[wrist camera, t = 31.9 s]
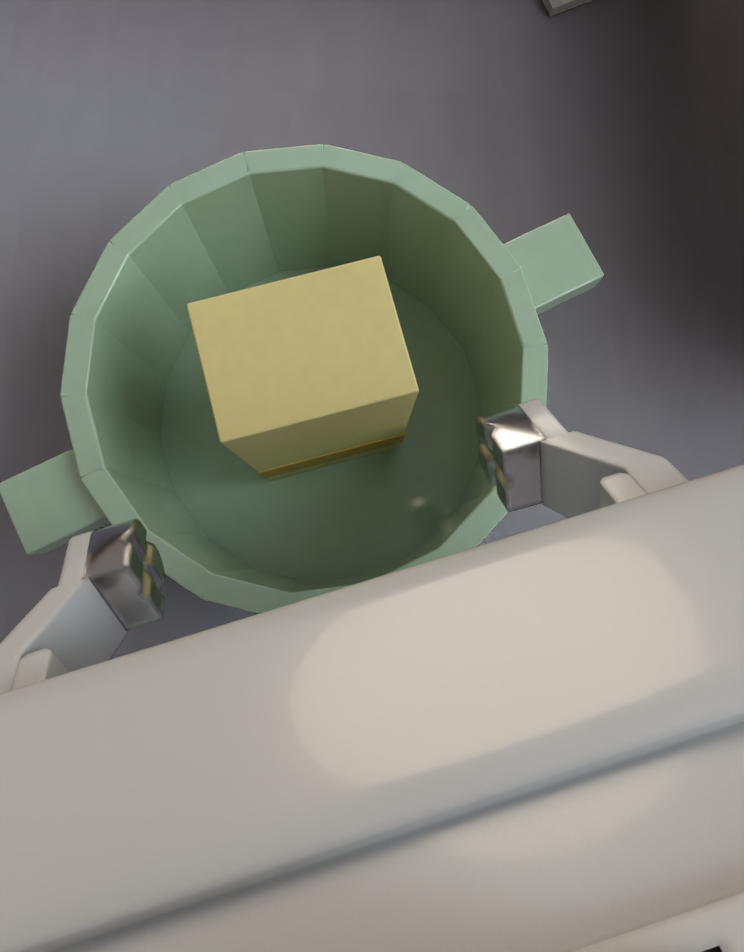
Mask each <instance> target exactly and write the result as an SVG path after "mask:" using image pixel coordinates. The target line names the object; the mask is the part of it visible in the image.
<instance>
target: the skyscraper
mask: <svg viewBox="0 0 744 952" xmlns="http://www.w3.org/2000/svg"><path fill="white" fill-rule="evenodd" d="M542 1H543V3H544V5H545V7H546V9H547V11H548V13H549V15H550V17H551V16H553V15H556V14H559V13H561V12H564V11H567V10H569V9H572V8H575V7H577V6H580V5H582V4H585V3H588V2H590V1H593V0H542Z"/></svg>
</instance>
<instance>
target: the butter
mask: <svg viewBox="0 0 744 952" xmlns="http://www.w3.org/2000/svg"><path fill="white" fill-rule="evenodd" d="M187 310H188V314H189V318H190V322H191V326H192V330H193V334H194V338H195V343H196V347H197V351H198V355H199V359H200V363H201V367H202V371H203V375H204V379H205V383H206V387H207V392H208V396H209V400H210V404H211V408H212V412H213V416H214V420H215V424H216V428H217V432H218V437H219V441H220V442H221V443H222V444H223V445H224V446H226V447H227V448H228V449H229V450H231V451H232V452H233V453H235V454H236V455H237V456H238V457H240V458H241V459H242V460H244V461H245V462H246V463H247V464H249V465H250V466H251V467H252V468H254V469H255V470H256V473H257V474H258V475H260V476H261V477H262V478H267V479H268V480H269V481H273V480H277V479H281V478H284V477H288V476H292V475H296V474H299V473H303V472H307V471H311V470H315V469H318V468H322V467H326V466H330V465H333V464H337V463H341V462H345V461H349V460H352V459H356V458H360V457H364V456H368V455H371V454H375V453H379V452H383V451H386V450H390V449H394V448H398V447H400V444H401V442H403V441H404V438H405V435H406V431H405V429H406V426H407V423H408V420H409V418H410V415H411V412H412V409H413V406H414V403H415V400H416V397H417V394H418V391H419V389H418V385H417V382H416V378H415V375H414V371H413V368H412V364H411V361H410V357H409V354H408V350H407V347H406V343H405V340H404V336H403V333H402V329H401V326H400V322H399V319H398V315H397V312H396V308H395V304H394V301H393V297H392V294H391V290H390V287H389V283H388V280H387V276H386V273H385V269H384V266H383V262H382V259H381V257H380V256H376V257H372V258H368V259H364V260H360V261H356V262H352V263H348V264H344V265H340V266H336V267H332V268H328V269H324V270H320V271H316V272H312V273H308V274H304V275H300V276H296V277H292V278H288V279H284V280H280V281H276V282H272V283H268V284H264V285H260V286H256V287H252V288H248V289H244V290H240V291H236V292H232V293H228V294H224V295H220V296H216V297H212V298H208V299H204V300H200V301H196V302H192V303H188V304H187Z"/></svg>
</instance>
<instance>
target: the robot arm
mask: <svg viewBox="0 0 744 952" xmlns="http://www.w3.org/2000/svg"><path fill="white" fill-rule="evenodd" d="M476 432H477V434H478V435H479V437H480V438H481V440H482V442H481V443H480V445H479V447H478V449H479V456H480V461H481V464H482V468H483V471H484V473H485V475H486V477H487V479H488V481H489V482H490V484H493V485H495V486H496V488H497V496H498V497H499V499H500V500H501V502H502V503H503V505H504V507H505V508H506V510H507V511H508V512H512V511H516V510H519V509H523V508H526V507H530V506H533V505H537V504H541V503H543V505H545V506H547V507H548V508H550V509H552V510H554V511H556V512H558V513H560V514H562V515H564V516H565V517H567V519H564V520H561V521H557V522H554V523H551V524H548V525H545V526H541V527H538V528H535V529H532V530H528V531H525V532H522V533H519V534H515V535H512V536H509V537H506V538H502V539H499V540H496V541H493V542H489V543H486V544H483V545H480V546H477V547H473V548H470V549H467V550H464V551H460V552H457V553H454V554H451V555H447V556H444V557H441V558H438V559H435V560H431V561H428V562H425V563H422V564H418V565H415V566H412V567H409V568H405V569H402V570H399V571H396V572H393V573H389V574H386V575H383V576H380V577H376V578H373V579H370V580H367V581H363V582H360V583H357V584H354V585H350V586H347V587H344V588H341V589H337V590H334V591H331V592H328V593H325V594H321V595H318V596H315V597H312V598H308V599H305V600H302V601H299V602H295V603H292V604H289V605H286V606H282V607H279V608H276V609H273V610H270V611H266V612H263V613H260V614H257V615H253V616H250V617H247V618H244V619H240V620H237V621H234V622H231V623H227V624H224V625H221V626H218V627H214V628H211V629H208V630H205V631H202V632H198V633H195V634H192V635H189V636H185V637H182V638H179V639H176V640H172V641H169V642H166V643H163V644H159V645H156V646H153V647H150V648H146V649H143V650H140V651H137V652H134V653H130V654H127V655H124V656H121V657H117V658H114V659H111V658H112V656H113V655H114V653H115V651H116V650H117V648H118V647H119V645H120V643H121V642H122V640H123V638H124V637H125V635H126V633H127V630H130V629H133V628H136V627H139V626H142V625H145V624H148V623H151V622H154V621H157V620H160V619H163V605H164V596H163V594H162V593H161V591H160V588H161V587H162V585H163V584H164V583H165V570H164V565H163V561H162V558H161V556H160V553H159V551H158V549H157V548H156V546H155V544H153V543H150V542H148V541H146V534H147V531H146V529H145V527H144V526H143V524H142V523H141V521H140V520H138V519H133V520H129V521H126V522H122V523H118V524H115V525H111V526H107V527H104V528H100V529H97V530H94V531H90V532H86V533H83V534H79V535H76V536H73V537H72V538H71V539H70V540H69V542H68V546H67V550H66V554H65V559H64V563H63V567H62V571H61V575H60V579H59V584H58V587H55V588H52V589H51V590H50V591H49V592H48V593H47V594H46V595H45V596H44V597H43V598H42V599H41V600H40V601H39V602H38V603H37V604H36V606H35V607H34V608H33V609H32V610H31V611H30V612H29V613H28V614H27V615H26V616H25V617H24V618H23V619H22V620H21V621H20V623H19V624H18V625H17V626H16V627H15V628H14V629H13V630H12V631H11V632H10V633H9V634H8V635H7V636H6V637H5V638H4V639H3V641H2V642H1V643H0V952H744V464H742V465H739V466H736V467H732V468H729V469H726V470H723V471H720V472H716V473H713V474H710V475H707V476H703V477H700V478H697V479H694V480H691V481H688V480H687V479H686V478H685V477H684V476H683V475H682V474H681V473H680V472H679V471H678V470H677V469H676V468H675V467H674V466H673V465H672V464H671V463H670V462H669V461H668V460H667V459H666V458H664V457H661V456H658V455H654V454H651V453H647V452H644V451H641V450H637V449H634V448H630V447H627V446H623V445H620V444H617V443H613V442H610V441H606V440H603V439H600V438H596V437H593V436H589V435H586V434H582V433H579V432H576V431H572V432H569V433H568V432H567V430H566V429H565V428H564V427H563V426H562V425H561V424H560V423H559V421H558V420H557V419H556V418H555V417H554V416H553V415H552V414H551V412H550V411H549V410H548V409H547V408H546V407H545V406H544V404H543V403H542V402H541V401H540V400H539V399H536V398H535V399H532V400H529V401H526V402H523V403H520V404H517V405H516V406H513V407H510V408H506V409H503V410H500V411H497V412H493V413H490V414H487V415H484V416H480V417H477V418H476Z"/></svg>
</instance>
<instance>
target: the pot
mask: <svg viewBox="0 0 744 952" xmlns="http://www.w3.org/2000/svg"><path fill="white" fill-rule="evenodd" d="M109 242H110V243H109ZM109 242H108V243H107V244H106V246H105V248H104V250H103V252H102V254H101V256H100V258H99V260H98V262H97V264H96V266H95V268H94V270H93V271H92V273H91V275H90V277H89V279H88V281H87V283H86V285H85V287H84V289H83V291H82V293H81V295H80V297H79V299H78V301H77V302H76V304H75V306H74V308H73V310H72V312H71V315H70V319H69V327H68V335H67V343H66V351H65V359H64V367H63V375H62V383H61V391H60V397H62V398H61V402H62V407H63V411H64V415H65V419H66V423H67V427H68V431H69V435H70V439H71V443H72V448H73V449H70V450H68V451H66V452H64V453H62V454H60V455H58V456H56V457H54V458H51V459H49V460H47V461H45V462H43V463H41V464H39V465H37V466H35V467H32V468H30V469H28V470H26V471H24V472H22V473H20V474H18V475H16V476H13V477H11V478H9V479H7V480H5V481H3V482H1V483H0V495H1V497H2V499H3V502H4V504H5V506H6V509H7V511H8V513H9V516H10V518H11V520H12V523H13V525H14V527H15V529H16V532H17V534H18V536H19V539H20V541H21V543H22V546H23V548H24V550H25V553H26V554H27V555H42V554H45V553H47V552H49V551H51V550H53V549H56V548H58V547H60V546H62V545H64V544H66V543H68V542H69V540H70V539H71V538H72V537H73V536H76V535H79V534H83V533H86V532H90V531H93V530H95V529H97V528H99V527H101V526H103V525H105V524H107V523H109V522H110V523H111V525H115V524H118V523H122V522H126V521H129V520H133V519H138V520H140V521H141V523H142V524H143V526H144V527H145V529H146V531H147V534H146V541H148V542H150V543H153V544H155V546H156V548H157V549H158V551H159V553H160V556H161V558H162V561H163V565H164V570H165V575H166V576H168V577H169V578H171V579H172V580H174V581H175V582H177V583H178V584H180V585H181V586H182V587H184V588H185V589H187V590H188V591H190V592H191V593H193V594H194V595H196V596H197V597H199V598H202V599H203V600H205V601H209V602H213V603H218V604H222V605H226V606H230V607H234V608H238V609H242V610H246V611H250V612H254V613H259V614H260V613H263V612H266V611H270V610H273V609H276V608H279V607H282V606H286V605H289V604H292V603H295V602H299V601H302V600H305V599H308V598H312V597H315V596H318V595H321V594H325V593H328V592H331V591H334V590H337V589H341V588H344V587H347V586H350V585H354V584H357V583H360V582H363V581H367V580H370V579H373V578H376V577H380V576H383V575H386V574H389V573H393V572H396V571H399V570H402V569H405V568H409V567H412V566H415V565H418V564H422V563H425V562H428V561H431V560H435V559H438V558H441V557H444V556H447V555H451V554H454V553H457V552H460V551H464V550H467V549H470V548H473V547H477V546H478V545H479V544H480V543H481V542H482V541H483V540H484V538H485V537H486V536H487V535H488V534H489V533H490V532H491V531H492V530H493V529H494V528H495V526H496V525H497V524H498V523H499V522H500V521H501V520H502V519H503V518H504V517H505V516H506V514H507V513H508V511H507V510H506V508H505V507H504V505H503V503H502V502H501V500H500V499H499V497H498V496H497V488H496V486H495V485H493V484H490V482H489V481H488V479H487V477H486V475H485V473H484V471H483V468H482V464H481V461H480V456H479V449H478V447H479V445H480V443H481V442H482V440H481V438H480V437H479V435H478V434H477V432H476V418H477V417H480V416H484V415H487V414H490V413H493V412H497V411H500V410H503V409H506V408H510V407H513V406H516V405H517V404H520V403H523V402H526V401H529V400H532V399H535V398H536V399H539V400H540V401H541V402H542V403H543V404H544V406H545V407H546V408H547V378H548V345H547V341H546V338H545V335H544V332H543V329H542V326H541V323H540V320H539V317H538V315H539V314H541V313H543V312H545V311H547V310H549V309H551V308H553V307H555V306H557V305H559V304H561V303H563V302H565V301H567V300H569V299H572V298H574V297H576V296H578V295H580V294H582V293H584V292H586V291H588V290H590V289H592V288H594V287H595V285H596V284H597V283H598V282H599V281H600V280H601V278H602V277H603V276H604V273H603V272H602V270H601V268H600V266H599V264H598V263H597V261H596V259H595V257H594V256H593V254H592V252H591V250H590V249H589V247H588V245H587V243H586V241H585V240H584V238H583V236H582V234H581V233H580V231H579V229H578V227H577V226H576V224H575V222H574V220H573V219H572V217H571V215H570V214H566V215H564V216H562V217H559V218H557V219H555V220H553V221H551V222H549V223H547V224H545V225H543V226H540V227H538V228H536V229H534V230H532V231H530V232H528V233H526V234H524V235H521V236H519V237H517V238H515V239H513V240H511V241H509V242H507V243H505V244H503V243H502V242H501V241H500V240H499V238H498V237H497V236H496V235H495V233H494V232H493V231H492V230H491V228H490V227H489V226H488V225H487V223H486V222H485V221H484V220H483V219H482V217H481V216H480V215H479V214H478V212H477V211H476V210H475V209H474V207H473V206H472V205H471V206H470V204H469V203H467V202H466V201H464V200H463V199H461V198H459V197H458V196H456V195H455V194H453V193H451V192H450V191H448V190H447V189H445V188H443V187H442V186H440V185H439V184H437V183H435V182H434V181H432V180H430V179H429V178H427V177H426V176H424V175H422V174H421V173H419V172H418V171H416V170H414V169H413V168H411V167H410V166H408V165H406V164H405V163H403V164H402V162H400V161H396V160H392V159H387V158H383V157H379V156H374V155H370V154H366V153H361V152H357V151H353V150H348V149H344V148H340V147H335V146H331V145H327V144H324V146H323V144H317V145H307V146H297V147H286V148H276V149H266V150H256V151H245V152H244V153H242V152H240V153H238V154H236V155H234V156H231V157H229V158H227V159H225V160H222V161H220V162H218V163H216V164H214V165H211V166H209V167H207V168H205V169H202V170H200V171H198V172H196V173H193V174H191V175H189V176H187V177H185V178H182V179H180V180H178V181H176V182H173V183H171V184H169V187H168V186H167V187H166V188H164V189H163V190H162V191H161V192H160V193H159V194H158V195H157V196H156V197H155V198H154V199H153V200H152V201H151V202H150V203H148V204H147V205H146V206H145V207H144V208H143V209H142V210H141V211H140V212H139V213H138V214H137V215H136V216H135V217H134V218H132V219H131V220H130V221H129V222H128V223H127V224H126V225H125V226H124V227H123V228H122V229H121V230H120V231H119V232H117V233H116V234H115V235H114V236H113V237H112V238H111V239H110V240H109ZM376 256H380V257H381V259H382V262H383V266H384V269H385V273H386V276H387V280H388V283H389V287H390V290H391V294H392V297H393V301H394V304H395V308H396V312H397V315H398V319H399V322H400V326H401V329H402V333H403V336H404V340H405V343H406V347H407V350H408V354H409V357H410V361H411V364H412V368H413V371H414V375H415V378H416V382H417V385H418V389H419V391H418V394H417V397H416V400H415V403H414V406H413V409H412V412H411V415H410V418H409V420H408V423H407V426H406V429H405V431H406V435H405V438H404V441H403V442H401V444H400V447H398V448H394V449H390V450H386V451H383V452H379V453H375V454H371V455H368V456H364V457H360V458H356V459H352V460H349V461H345V462H341V463H337V464H333V465H330V466H326V467H322V468H318V469H315V470H311V471H307V472H303V473H299V474H296V475H292V476H288V477H284V478H281V479H277V480H273V481H269V480H268V479H267V478H262V477H261V476H260V475H258V474H257V473H256V470H255V469H254V468H252V467H251V466H250V465H249V464H247V463H246V462H245V461H244V460H242V459H241V458H240V457H238V456H237V455H236V454H235V453H233V452H232V451H231V450H229V449H228V448H227V447H226V446H224V445H223V444H222V443H221V442H220V441H219V437H218V432H217V428H216V424H215V420H214V416H213V412H212V408H211V404H210V400H209V396H208V392H207V387H206V383H205V379H204V375H203V371H202V367H201V363H200V359H199V355H198V351H197V347H196V343H195V338H194V334H193V330H192V326H191V322H190V318H189V314H188V310H187V304H188V303H192V302H196V301H200V300H204V299H208V298H212V297H216V296H220V295H224V294H228V293H232V292H236V291H240V290H244V289H248V288H252V287H256V286H260V285H264V284H268V283H272V282H276V281H280V280H284V279H288V278H292V277H296V276H300V275H304V274H308V273H312V272H316V271H320V270H324V269H328V268H332V267H336V266H340V265H344V264H348V263H352V262H356V261H360V260H364V259H368V258H372V257H376Z"/></svg>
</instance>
